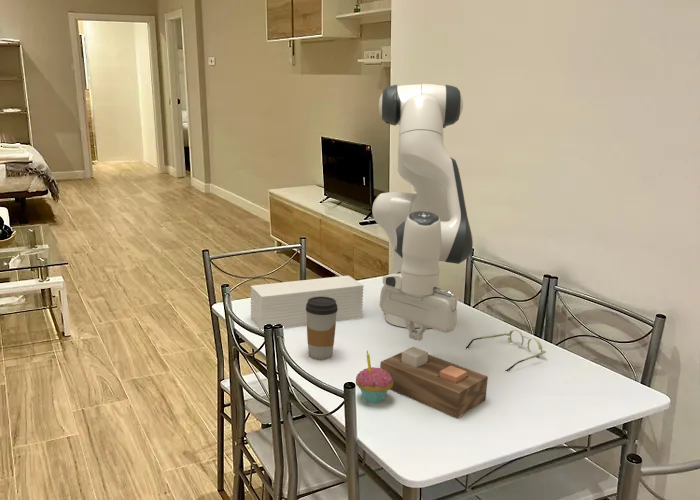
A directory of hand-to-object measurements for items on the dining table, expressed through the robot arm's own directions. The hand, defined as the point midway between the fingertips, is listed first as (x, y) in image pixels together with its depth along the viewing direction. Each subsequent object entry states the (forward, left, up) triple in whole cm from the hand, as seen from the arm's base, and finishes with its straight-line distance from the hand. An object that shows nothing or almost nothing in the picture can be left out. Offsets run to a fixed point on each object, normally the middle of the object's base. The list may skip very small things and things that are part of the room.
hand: (415, 338), depth 153 cm
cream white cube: (0, 0, -7) cm, 7 cm away
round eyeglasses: (-33, +6, -13) cm, 36 cm away
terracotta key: (0, +11, -9) cm, 14 cm away
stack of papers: (-12, -49, -12) cm, 52 cm away
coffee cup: (+4, -28, -12) cm, 30 cm away
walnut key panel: (0, +5, -12) cm, 13 cm away
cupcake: (+12, -2, -12) cm, 17 cm away
